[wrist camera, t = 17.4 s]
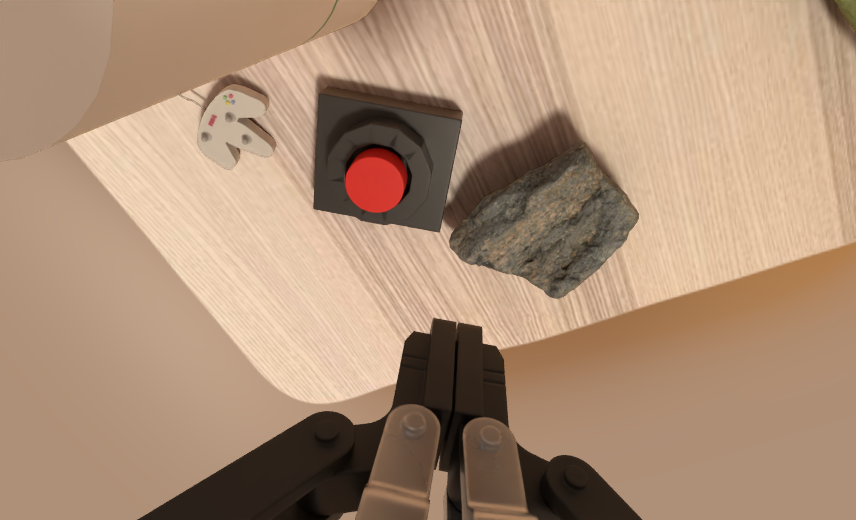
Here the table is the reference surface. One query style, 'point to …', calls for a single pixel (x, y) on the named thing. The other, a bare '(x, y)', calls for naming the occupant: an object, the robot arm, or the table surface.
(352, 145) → the control block
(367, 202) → the button
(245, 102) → the game controller
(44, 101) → the cylindrical container
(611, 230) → the rock
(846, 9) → the figurine
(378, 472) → the robot arm
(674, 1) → the table surface
